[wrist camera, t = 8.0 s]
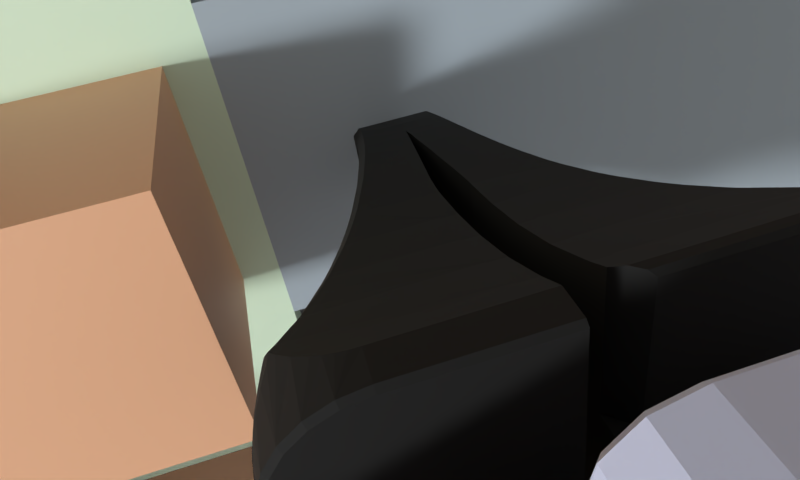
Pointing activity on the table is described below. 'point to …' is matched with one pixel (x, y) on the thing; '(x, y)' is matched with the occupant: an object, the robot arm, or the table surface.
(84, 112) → the block
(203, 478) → the table surface
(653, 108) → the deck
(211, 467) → the table surface
